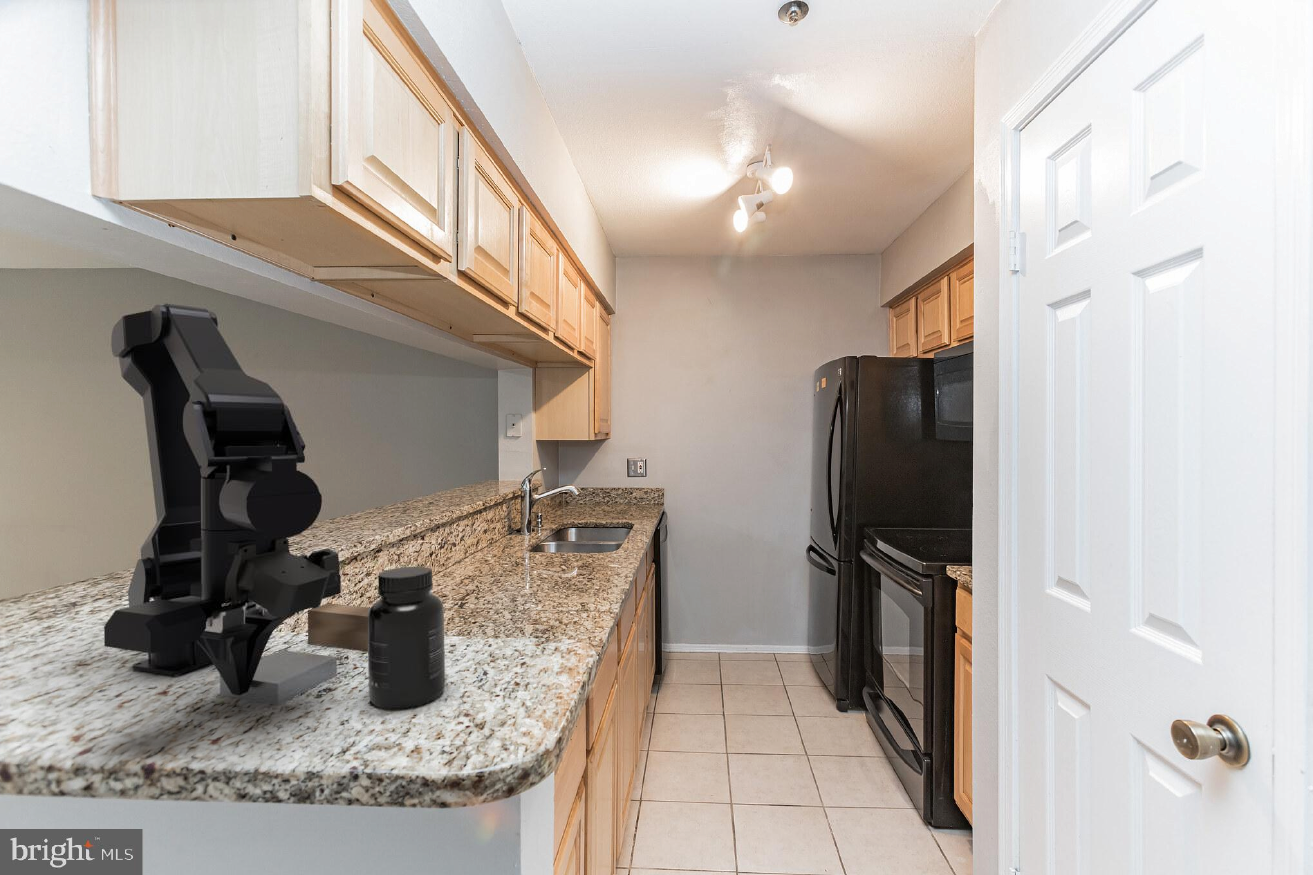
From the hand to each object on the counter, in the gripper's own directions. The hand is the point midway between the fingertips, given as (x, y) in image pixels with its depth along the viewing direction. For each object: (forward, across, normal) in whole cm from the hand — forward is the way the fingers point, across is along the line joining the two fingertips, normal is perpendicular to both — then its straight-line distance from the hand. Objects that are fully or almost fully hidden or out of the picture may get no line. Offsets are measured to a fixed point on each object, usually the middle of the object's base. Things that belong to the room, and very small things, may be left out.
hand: (240, 693), depth 56 cm
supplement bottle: (+1, +6, -14) cm, 15 cm away
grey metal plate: (+2, +4, 0) cm, 5 cm away
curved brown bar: (+1, +16, 0) cm, 16 cm away
